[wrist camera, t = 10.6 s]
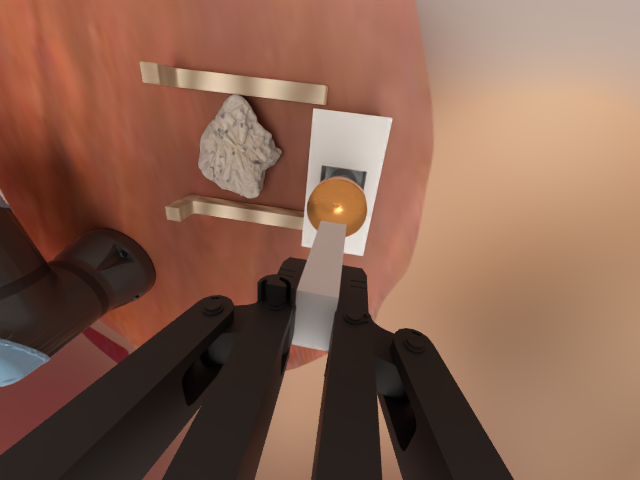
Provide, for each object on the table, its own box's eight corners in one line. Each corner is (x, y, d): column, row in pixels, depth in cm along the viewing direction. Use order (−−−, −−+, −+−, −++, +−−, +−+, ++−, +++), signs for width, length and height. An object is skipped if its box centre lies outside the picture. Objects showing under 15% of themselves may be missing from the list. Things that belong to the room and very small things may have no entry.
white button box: (315, 210, 40) (300, 245, 29) (326, 109, 33) (311, 108, 23) (361, 217, 39) (362, 256, 29) (381, 116, 33) (392, 118, 22)
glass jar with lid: (318, 202, 29) (304, 233, 22) (323, 158, 27) (309, 176, 19) (360, 208, 29) (361, 242, 21) (368, 165, 27) (372, 185, 19)
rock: (257, 199, 40) (243, 212, 35) (198, 151, 38) (174, 158, 33) (300, 143, 36) (290, 148, 31) (236, 85, 34) (214, 80, 28)
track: (191, 206, 42) (167, 219, 37) (174, 69, 34) (139, 61, 28) (313, 224, 41) (306, 241, 36) (328, 87, 32) (322, 82, 27)
